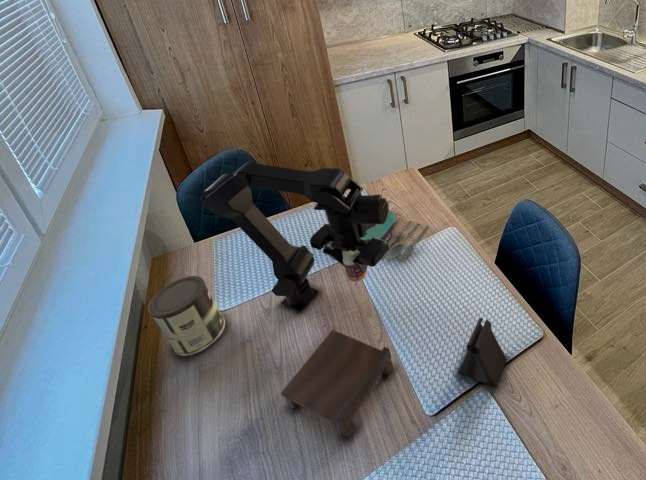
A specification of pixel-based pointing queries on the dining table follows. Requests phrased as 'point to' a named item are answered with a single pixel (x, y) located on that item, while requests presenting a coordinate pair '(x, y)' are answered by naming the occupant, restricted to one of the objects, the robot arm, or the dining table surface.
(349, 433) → the shelf
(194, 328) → the coffee can
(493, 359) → the phone stand
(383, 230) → the cutlery set
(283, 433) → the dining table surface
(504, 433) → the dining table surface
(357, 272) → the pill bottle
